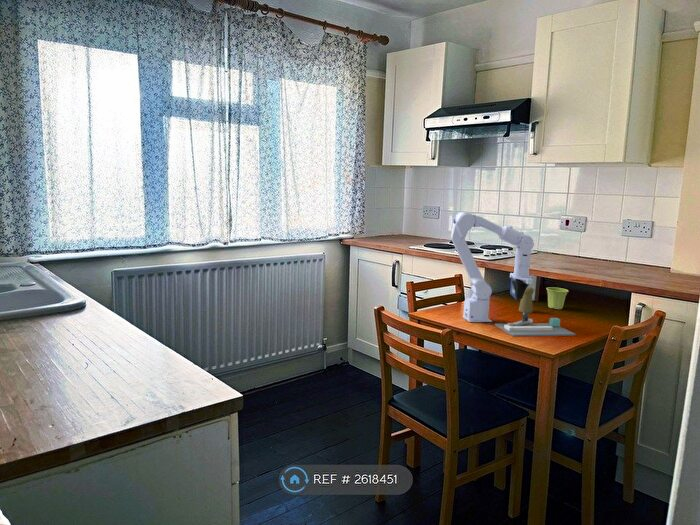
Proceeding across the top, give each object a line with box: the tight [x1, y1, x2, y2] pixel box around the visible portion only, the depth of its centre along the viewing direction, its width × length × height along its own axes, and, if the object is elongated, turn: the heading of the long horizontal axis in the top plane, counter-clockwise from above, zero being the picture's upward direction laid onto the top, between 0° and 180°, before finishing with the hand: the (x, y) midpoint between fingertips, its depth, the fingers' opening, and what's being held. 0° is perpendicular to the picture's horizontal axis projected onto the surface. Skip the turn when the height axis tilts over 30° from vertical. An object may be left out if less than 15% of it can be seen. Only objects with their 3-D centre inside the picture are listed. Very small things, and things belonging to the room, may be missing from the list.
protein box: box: [509, 272, 541, 302], centre depth 259 cm, size 10×15×16 cm
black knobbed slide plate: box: [511, 312, 534, 326], centre depth 204 cm, size 14×2×4 cm, turn 134°
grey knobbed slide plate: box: [494, 322, 577, 337], centre depth 199 cm, size 25×15×2 cm, turn 100°
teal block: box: [548, 317, 561, 327], centre depth 204 cm, size 3×2×3 cm
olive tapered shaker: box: [518, 286, 534, 314], centre depth 230 cm, size 6×6×11 cm
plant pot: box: [546, 286, 569, 310], centre depth 239 cm, size 9×9×9 cm
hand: (518, 298), depth 210 cm, fingers closed
